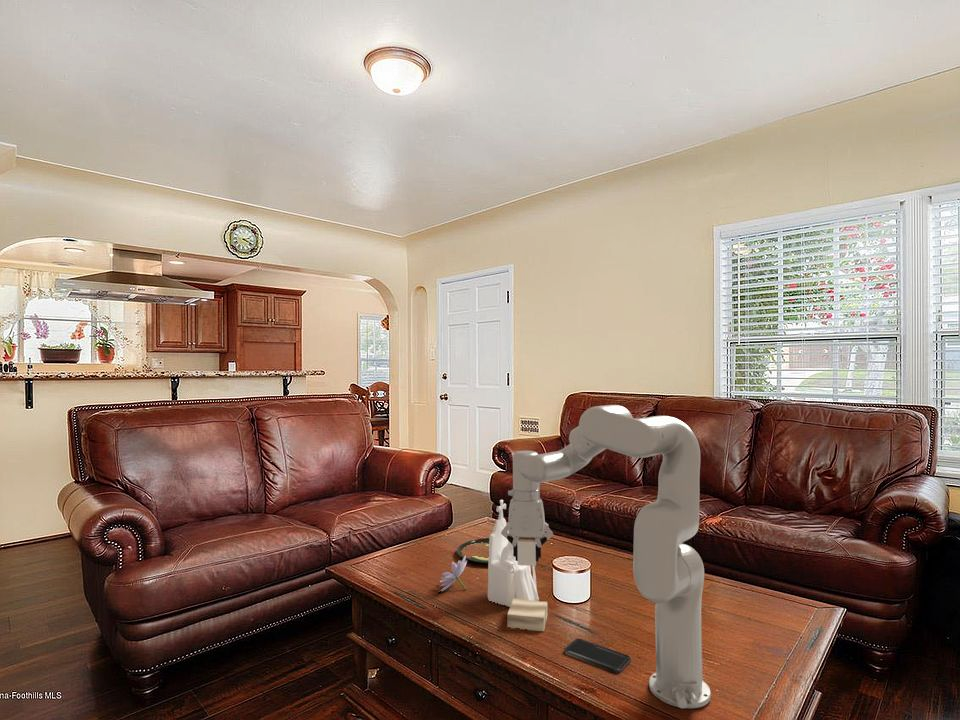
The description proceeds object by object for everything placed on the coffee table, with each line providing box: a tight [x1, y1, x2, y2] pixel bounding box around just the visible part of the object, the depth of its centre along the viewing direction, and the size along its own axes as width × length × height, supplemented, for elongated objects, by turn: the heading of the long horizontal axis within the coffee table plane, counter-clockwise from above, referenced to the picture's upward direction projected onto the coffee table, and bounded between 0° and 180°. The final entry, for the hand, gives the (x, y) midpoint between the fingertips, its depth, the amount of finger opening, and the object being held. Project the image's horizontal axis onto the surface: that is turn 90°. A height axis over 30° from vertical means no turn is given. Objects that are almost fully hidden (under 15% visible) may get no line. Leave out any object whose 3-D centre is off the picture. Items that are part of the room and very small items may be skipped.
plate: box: [456, 537, 489, 565], centre depth 202 cm, size 28×28×2 cm
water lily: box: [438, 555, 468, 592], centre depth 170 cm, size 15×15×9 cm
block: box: [506, 599, 549, 632], centre depth 148 cm, size 10×10×4 cm
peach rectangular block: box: [517, 537, 537, 567], centre depth 148 cm, size 5×5×7 cm
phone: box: [563, 638, 632, 674], centre depth 129 cm, size 8×1×15 cm
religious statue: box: [487, 499, 550, 608], centre depth 163 cm, size 17×14×30 cm
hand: (527, 558), depth 148 cm, fingers closed on peach rectangular block, 5 cm apart
